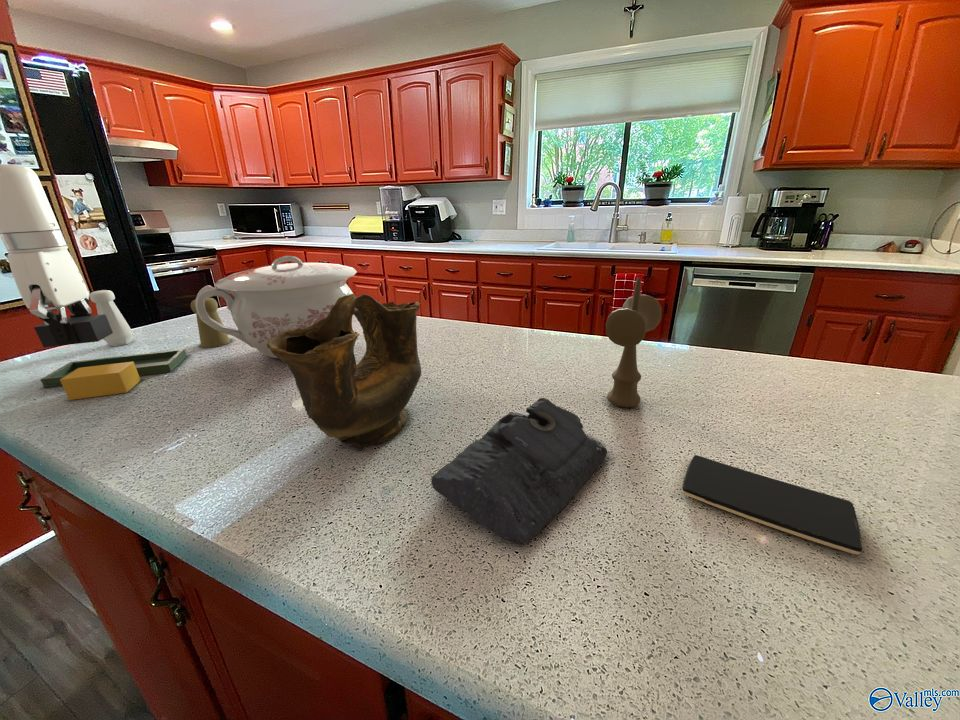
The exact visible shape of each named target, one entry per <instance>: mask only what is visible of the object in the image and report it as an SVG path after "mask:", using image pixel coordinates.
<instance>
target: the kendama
mask: <svg viewBox="0 0 960 720" xmlns="http://www.w3.org/2000/svg"><path fill="white" fill-rule="evenodd" d="M633 289H634V290H633V295H632V296H629V297H628V298H627V299H626V300H625V302H624V303H623V305H622V307H621V308H617V309H615V310H613V311H611V313H610V314H609V315H608V317H607V319H606V323H605V334H606V335H607V338H608V339H609V341H611V342H612V343H613V344H614V345H617V346H620V347H623V350H622V353H621V356H620V361H619V363H618V365H617V367H616V369H615V370H614V371H612V374H611V378H612V379H613V386H612V389H611V390H610V391H608V393H607V395H606V399H607V400H608V402H609V403H610V404H613V405H614V406H617V407H621V408H634V407H637V406H638V405H639V404H641V401H642V399H641V396H640V394H639V392H638V384H639V382H640V381H641V380H642V374H641V373H640V372H639V369H638V361H637V359H638V358H637V345H639V344H640V343H641V342H642V341H643V340H644V339H645V336H646V333H648V332H650V331H654V330H656V328H657V327H658V326H659V324H660V322H661V320H662V316H663V313H662V310H663V309H662V306H661V304H660V302H659V300H658V299H656V298H655V297H654V296H651V295H647V294H641V291H642V278H641V277H640V276H638V277H637V278H636V280H635V284H634V288H633Z"/></svg>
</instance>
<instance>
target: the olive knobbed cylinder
mask: <svg viewBox="0 0 960 720" xmlns="http://www.w3.org/2000/svg"><path fill="white" fill-rule="evenodd" d="M195 301H196V299H193V300H191V303H190V309H191V311H192V312H193V313H194V314H195V315H196V322H197V329H198V335H199V342H200V347H201V348H204V349H205V348H207V349H208V348H209V349H210V348H216V347H221V346H224V345H225V346H226V345H227V344H229V343H230V342H231V339H230V337H229V334H226V333H223V332H220V331H217V330H215V329H213V328H212V327H210V326H209V325H208V324H206V323H205V322H203V321H202V320H201V319H200V317H199V315H198V314H197V311H196V306H195ZM205 308H206V311H207V313H208V314H209V316H210V317H211V318H212V319H213V320H215V321H217V322H218V323H220V324H221V325H223V326H224V324H223V321H222V320H221V317H220V315H219V313H218V309H219V304H218V301H217V300H216V299H215V298H213V297H208V298H206V299H205Z"/></svg>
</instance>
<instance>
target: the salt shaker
mask: <svg viewBox="0 0 960 720" xmlns="http://www.w3.org/2000/svg"><path fill="white" fill-rule="evenodd" d="M89 293H90V295H89V300H90V301H91V302H92V303H94V304H95V306H96V313H97V315H103V314H106V317H107V319H108V322H109V324H110V326H111V329H112V331H113V333H112V334H111V335H109V336H107V337H105V338H103V339H102V340H103V341H104V342H105V343H107V344H108V345H109V346H110V347H118V346H123V345H127V344H130V343H132V342H133V336H134V332H133V330H132V328H131V327H130V325H129V323H128V322H127V320H126V318H125V317H124V316H123V314H122V313H121V311H120V309H119V308H118V306H117V305H116V302H114V300H116V296H115V294H114V292H113V291H112V290H107V289H101V290H95V291H92V292H89Z"/></svg>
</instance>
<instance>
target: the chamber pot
mask: <svg viewBox="0 0 960 720" xmlns="http://www.w3.org/2000/svg"><path fill="white" fill-rule="evenodd" d="M284 262H288V263H284ZM289 262H290V263H289ZM357 273H358V272H357V270H356V269H355V268H354V267H352V266H347V265H343V264H339V263H328V262H303V261H302V259H300V258H298V257H297V256H293V255H283V256H280V257H278V258H275V259H274V260H273V262H272V263H271V265H265V266H260V267H255V268H251V269H245V270H242V271H239V272H234V273H232V274H230V275H227V276H225V277H223V278H220V279H218V280H217V281H216V282H215V284H214V287H213V286H212V285H205V286H204V287H202V288H201V289H200V290H199V291H198V293H197V294H196V297H195V300H196V301H195V306H196V311H197V314H198V315H199V317H200V319H201V320H202V321H203V322H205V323H206V324H208V325H209V326H210V327H212V328H213V329H215V330H217V331H220V332H223V333H226V334H227V335H228V336H232V337H234V338H236V339H238V340H240V341H241V342H243V343H244V344H247V346H249V347H251V348H252V349H253V348H254V349H256V350H257V351H258V352H260V354H262V355H263V356H266V357H269V358H272V359H279V358H278V357H276V356H275V355H274V354H273V353H272V352H271V350H270V348H268V347H267V343H268V341H267V340H268V339H269V338H273V337H275V338H277V337H276V336H278V334H280V333H282V332H285V331H289V330H295V329H298V328H307V327H309V326H311V325H313V324H315V323H317V322H318V321H320V320H321V319H323V318H326V317H327V316H328V315H329V313H330V310H331V308H332V307H333V306H334V305H335V303H336V301H337V300H338V299H339V298H340V297H343V296H347V295H350V294H354V293H353V291H352V290H351V288H350V287H349V286H348V284H347V280H348V279H351V278H353V277H354V276H355V275H356V274H357ZM213 297H220V298H223V299H224V301H225V304H226V308H227V310H229V311H230V313H231V317H232V320H233V323H234V324H235V326H236V328H234V327H229V326H226V325H224V324H223V325H221V324H220V323H218V322H217V321H215V320H213V319H212V318H211V317H210V316H209V314H208V313H207V311H206V308H205V299H206V298H213ZM353 315H354V314H353ZM354 320H355V315H354V316H352V324H353V323H354Z"/></svg>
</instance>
